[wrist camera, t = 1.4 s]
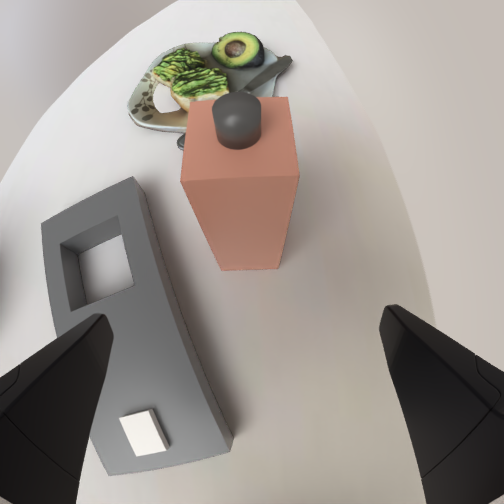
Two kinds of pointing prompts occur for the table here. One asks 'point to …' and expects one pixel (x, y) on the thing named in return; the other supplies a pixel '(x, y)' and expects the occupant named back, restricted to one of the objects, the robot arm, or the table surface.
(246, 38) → the salad plate
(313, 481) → the table surface
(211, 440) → the grey slotted holder
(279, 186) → the pink capped bottle
